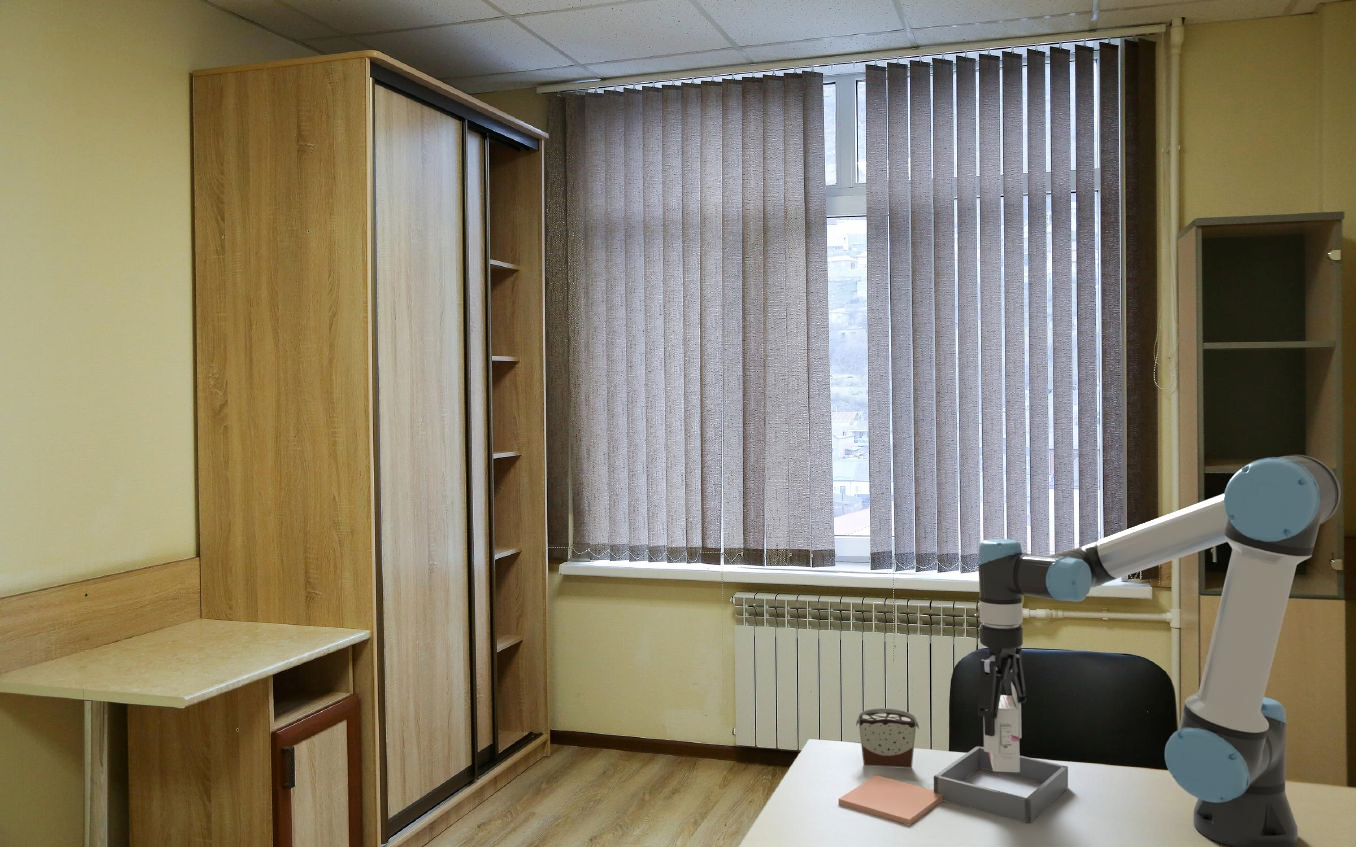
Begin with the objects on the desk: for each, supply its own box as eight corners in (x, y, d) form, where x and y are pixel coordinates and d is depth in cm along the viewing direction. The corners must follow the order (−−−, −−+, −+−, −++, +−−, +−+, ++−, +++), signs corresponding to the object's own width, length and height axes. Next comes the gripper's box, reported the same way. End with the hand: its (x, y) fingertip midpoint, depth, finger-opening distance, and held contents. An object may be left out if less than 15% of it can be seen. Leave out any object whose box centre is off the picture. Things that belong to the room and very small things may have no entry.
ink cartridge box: (986, 755, 186) (985, 677, 186) (1014, 756, 185) (1013, 678, 185) (992, 771, 178) (990, 690, 178) (1020, 773, 177) (1019, 691, 177)
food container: (917, 757, 200) (917, 708, 200) (919, 768, 194) (919, 718, 194) (856, 754, 202) (855, 706, 202) (856, 765, 196) (855, 715, 196)
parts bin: (1067, 787, 184) (1067, 766, 184) (1029, 823, 169) (1029, 800, 169) (977, 765, 195) (977, 745, 195) (933, 797, 180) (933, 775, 180)
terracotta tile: (944, 798, 180) (944, 793, 180) (909, 824, 169) (909, 819, 169) (876, 780, 189) (876, 774, 189) (838, 803, 178) (838, 798, 178)
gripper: (1004, 610, 192) (1006, 724, 192) (955, 632, 175) (958, 757, 175) (1042, 615, 187) (1044, 731, 188) (997, 638, 170) (999, 766, 171)
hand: (1003, 744), depth 181 cm, fingers closed on ink cartridge box, 10 cm apart
